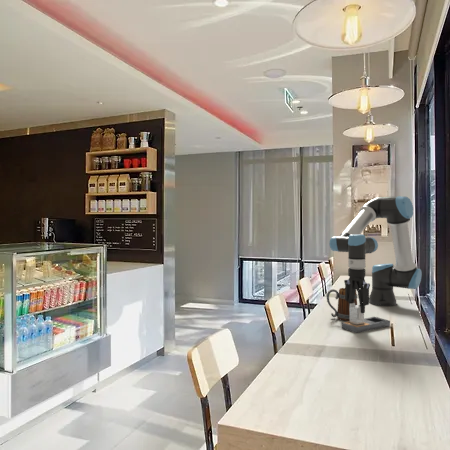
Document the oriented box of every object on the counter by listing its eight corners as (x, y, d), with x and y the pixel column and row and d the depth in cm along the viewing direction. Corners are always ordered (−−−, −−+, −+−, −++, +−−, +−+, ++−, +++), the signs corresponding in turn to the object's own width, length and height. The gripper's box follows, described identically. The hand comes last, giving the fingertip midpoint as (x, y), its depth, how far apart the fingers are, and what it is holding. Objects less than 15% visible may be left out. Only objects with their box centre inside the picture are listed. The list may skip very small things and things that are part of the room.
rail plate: (374, 321, 197) (374, 316, 197) (390, 326, 189) (390, 320, 189) (341, 328, 187) (341, 322, 187) (356, 333, 179) (356, 327, 179)
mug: (355, 316, 208) (355, 287, 207) (360, 321, 197) (360, 291, 197) (325, 315, 209) (325, 287, 209) (328, 321, 199) (328, 291, 198)
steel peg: (356, 324, 188) (356, 305, 188) (364, 326, 184) (364, 306, 184) (349, 325, 186) (349, 306, 186) (356, 327, 182) (356, 308, 182)
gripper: (336, 266, 190) (336, 315, 191) (366, 271, 175) (366, 324, 175) (348, 265, 194) (348, 313, 194) (378, 269, 178) (377, 321, 179)
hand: (356, 318), depth 185 cm, fingers closed on steel peg, 4 cm apart
